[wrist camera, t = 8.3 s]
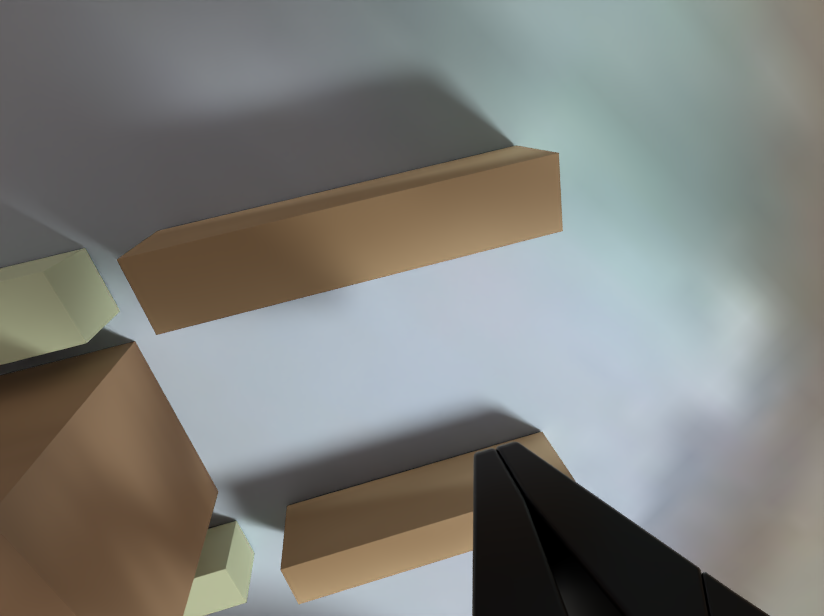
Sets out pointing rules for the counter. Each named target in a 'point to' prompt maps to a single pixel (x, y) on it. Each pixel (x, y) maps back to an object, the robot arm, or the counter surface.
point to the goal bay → (77, 324)
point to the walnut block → (97, 491)
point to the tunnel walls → (339, 267)
